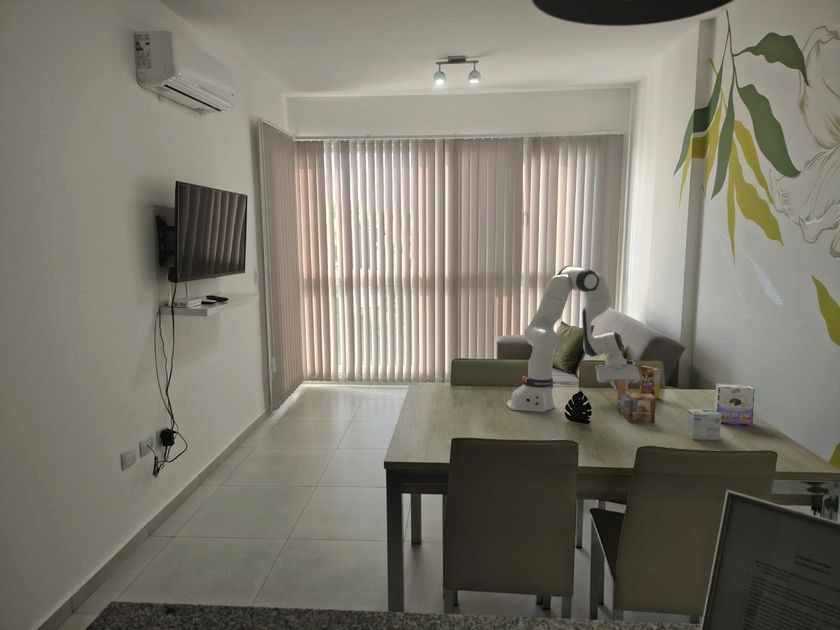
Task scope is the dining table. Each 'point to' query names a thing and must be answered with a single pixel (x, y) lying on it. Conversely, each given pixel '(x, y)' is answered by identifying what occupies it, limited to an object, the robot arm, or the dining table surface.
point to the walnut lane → (646, 413)
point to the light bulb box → (703, 424)
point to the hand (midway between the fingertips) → (621, 389)
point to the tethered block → (621, 395)
